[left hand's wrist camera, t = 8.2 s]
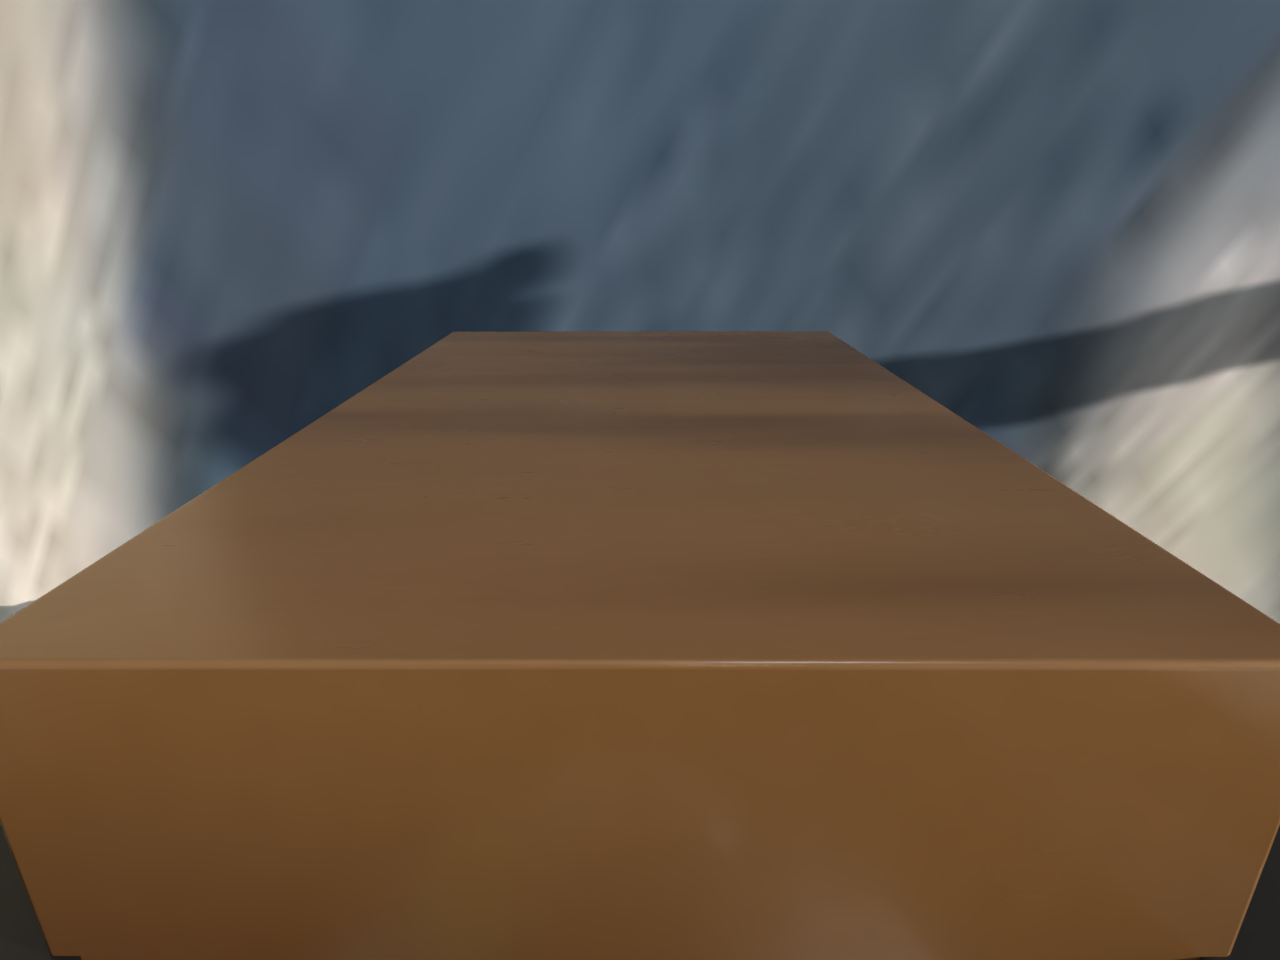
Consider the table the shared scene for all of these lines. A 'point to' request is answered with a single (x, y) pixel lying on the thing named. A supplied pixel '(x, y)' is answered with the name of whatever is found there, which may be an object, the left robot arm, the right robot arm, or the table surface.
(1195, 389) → the table surface
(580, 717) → the box
